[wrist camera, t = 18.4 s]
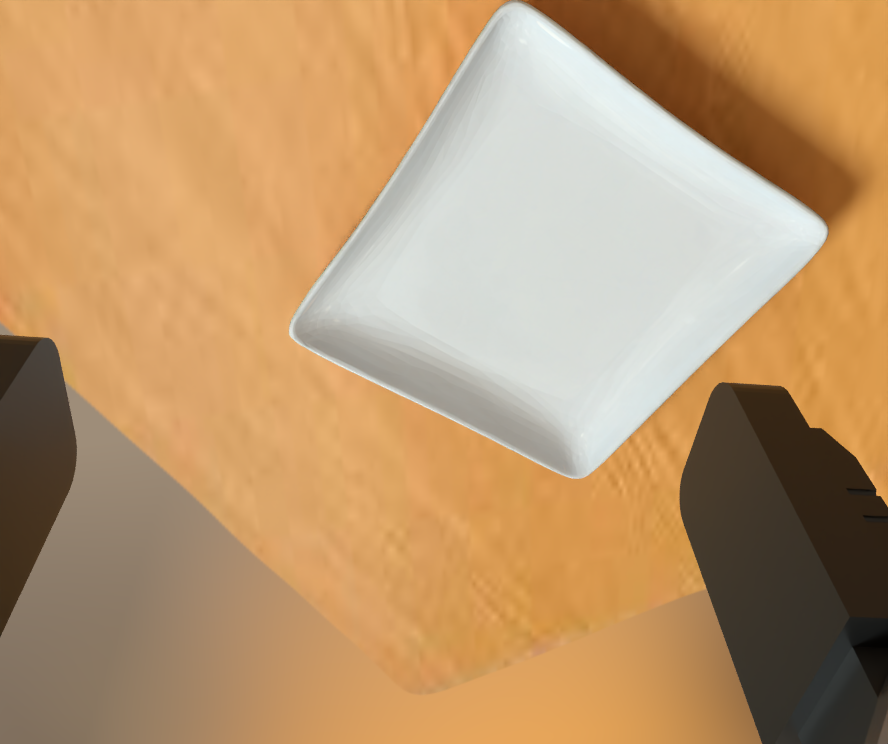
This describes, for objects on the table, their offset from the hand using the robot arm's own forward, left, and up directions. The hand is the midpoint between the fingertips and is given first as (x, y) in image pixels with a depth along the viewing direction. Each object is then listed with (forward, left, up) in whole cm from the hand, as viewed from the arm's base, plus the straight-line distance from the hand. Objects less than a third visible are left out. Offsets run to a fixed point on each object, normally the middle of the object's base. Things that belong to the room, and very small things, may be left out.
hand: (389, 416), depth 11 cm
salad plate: (-9, +15, -34) cm, 38 cm away
